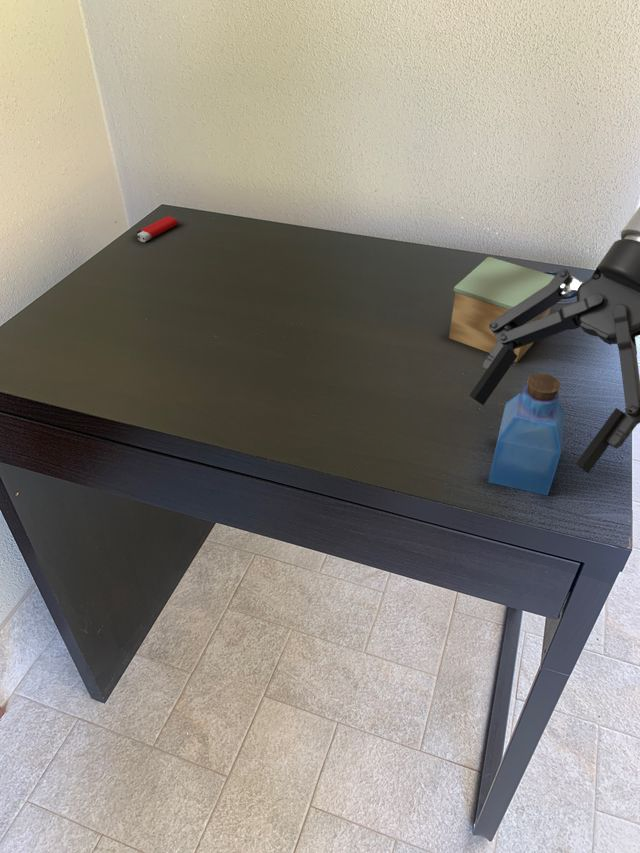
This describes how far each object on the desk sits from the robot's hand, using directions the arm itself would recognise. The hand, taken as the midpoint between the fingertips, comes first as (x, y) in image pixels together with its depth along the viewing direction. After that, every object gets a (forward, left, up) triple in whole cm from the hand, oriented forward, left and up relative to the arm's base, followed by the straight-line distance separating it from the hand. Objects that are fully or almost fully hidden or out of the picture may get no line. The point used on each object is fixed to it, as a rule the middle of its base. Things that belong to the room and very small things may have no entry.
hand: (525, 432), depth 71 cm
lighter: (+78, +1, -6) cm, 78 cm away
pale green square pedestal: (+19, -20, -6) cm, 28 cm away
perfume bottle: (0, -1, -6) cm, 6 cm away
